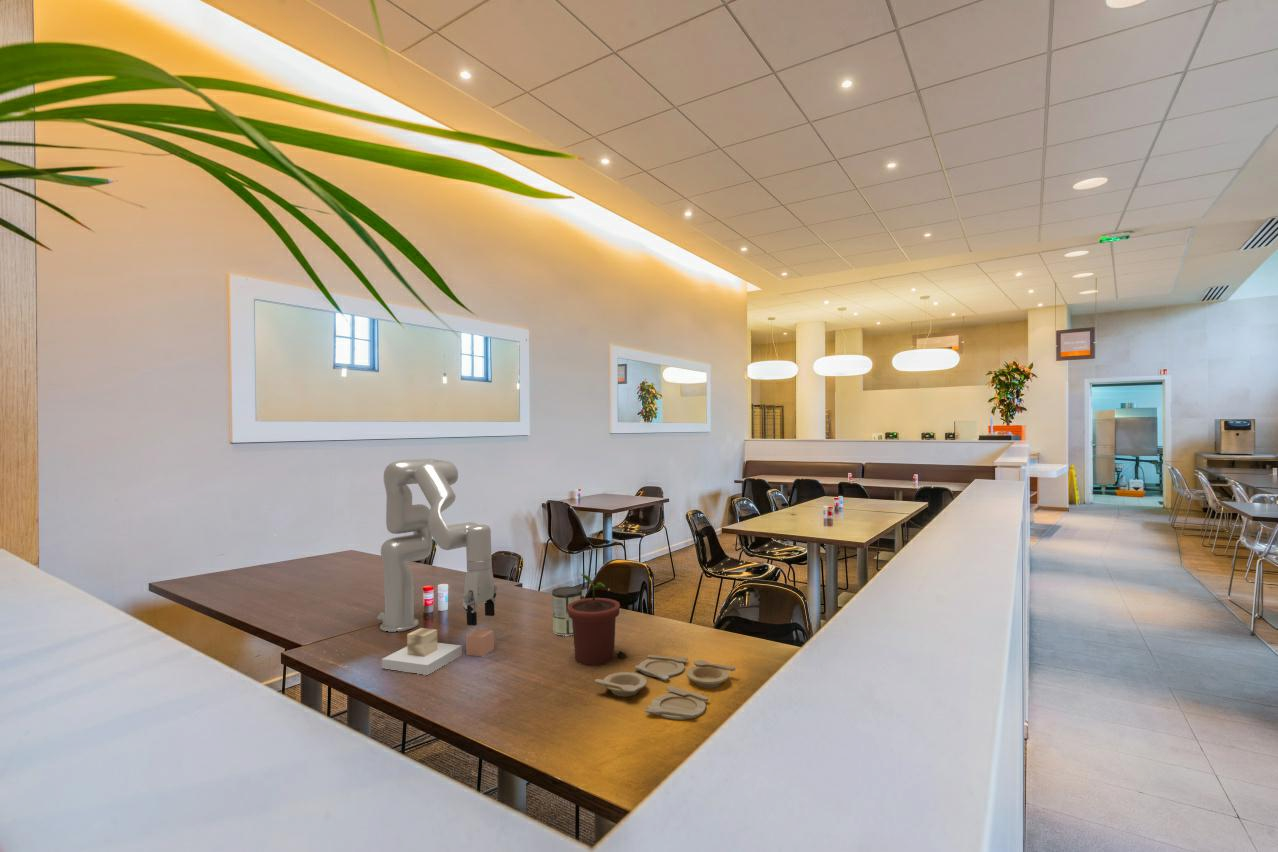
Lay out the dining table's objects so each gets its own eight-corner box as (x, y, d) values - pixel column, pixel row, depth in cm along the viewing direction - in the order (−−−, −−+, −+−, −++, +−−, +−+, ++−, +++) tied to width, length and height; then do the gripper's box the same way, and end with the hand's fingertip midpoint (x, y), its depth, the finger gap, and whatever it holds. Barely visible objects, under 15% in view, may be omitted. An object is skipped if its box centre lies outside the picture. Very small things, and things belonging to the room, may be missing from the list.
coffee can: (562, 625, 212) (562, 585, 213) (588, 628, 208) (587, 587, 208) (546, 634, 203) (545, 592, 203) (572, 638, 199) (572, 595, 199)
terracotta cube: (466, 654, 186) (466, 635, 186) (477, 648, 192) (477, 629, 192) (483, 656, 184) (482, 637, 184) (494, 650, 190) (493, 630, 190)
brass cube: (407, 654, 179) (407, 634, 179) (421, 647, 184) (420, 627, 184) (424, 656, 177) (424, 636, 177) (437, 649, 182) (437, 629, 182)
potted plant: (553, 660, 180) (551, 576, 180) (597, 638, 198) (596, 562, 198) (600, 673, 170) (598, 584, 170) (642, 648, 188) (641, 568, 188)
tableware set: (687, 731, 138) (687, 713, 138) (584, 702, 153) (584, 686, 153) (745, 676, 168) (744, 661, 168) (654, 656, 183) (654, 643, 183)
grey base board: (381, 669, 175) (381, 659, 175) (418, 649, 191) (418, 640, 191) (427, 675, 170) (427, 665, 170) (461, 655, 185) (461, 645, 185)
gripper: (484, 559, 197) (486, 611, 197) (452, 570, 181) (453, 628, 181) (504, 559, 195) (506, 613, 194) (473, 571, 178) (475, 629, 178)
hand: (481, 620), depth 188 cm, fingers open, 9 cm apart
